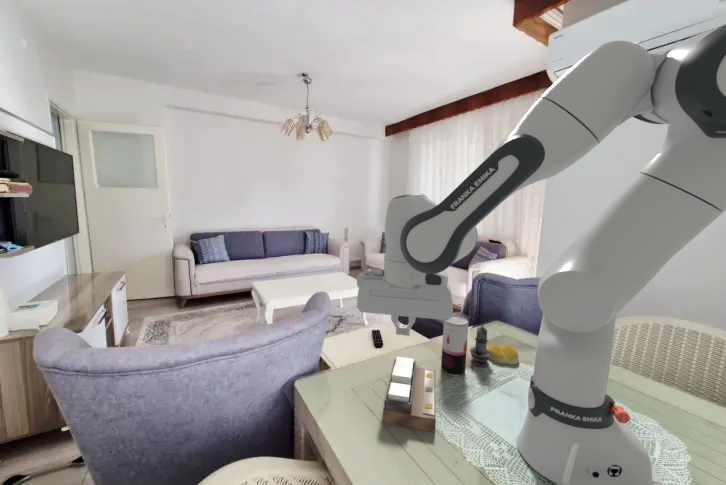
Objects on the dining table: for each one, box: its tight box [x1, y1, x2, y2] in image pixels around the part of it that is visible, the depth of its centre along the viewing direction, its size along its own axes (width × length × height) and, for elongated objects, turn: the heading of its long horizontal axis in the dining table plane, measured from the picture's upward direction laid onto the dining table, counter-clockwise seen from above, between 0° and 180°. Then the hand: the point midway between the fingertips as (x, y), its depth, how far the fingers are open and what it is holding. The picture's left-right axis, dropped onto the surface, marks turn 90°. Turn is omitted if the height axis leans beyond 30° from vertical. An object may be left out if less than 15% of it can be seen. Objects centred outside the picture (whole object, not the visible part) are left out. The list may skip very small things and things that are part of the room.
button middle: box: [392, 365, 412, 386], centre depth 75 cm, size 4×4×2 cm
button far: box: [395, 356, 415, 372], centre depth 81 cm, size 4×4×2 cm
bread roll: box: [487, 344, 519, 366], centre depth 95 cm, size 8×9×4 cm
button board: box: [382, 358, 437, 433], centre depth 75 cm, size 11×19×5 cm, turn 167°
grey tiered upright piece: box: [469, 324, 491, 369], centre depth 91 cm, size 6×6×12 cm
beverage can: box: [440, 315, 469, 377], centre depth 87 cm, size 6×7×15 cm
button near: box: [388, 382, 410, 403], centre depth 69 cm, size 4×4×2 cm
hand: (402, 334), depth 67 cm, fingers closed
